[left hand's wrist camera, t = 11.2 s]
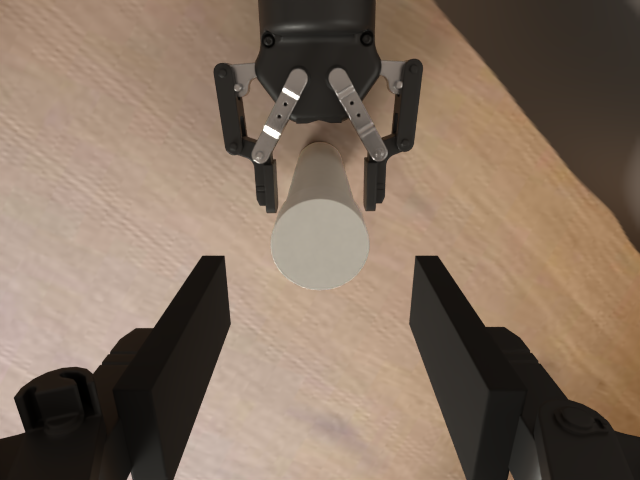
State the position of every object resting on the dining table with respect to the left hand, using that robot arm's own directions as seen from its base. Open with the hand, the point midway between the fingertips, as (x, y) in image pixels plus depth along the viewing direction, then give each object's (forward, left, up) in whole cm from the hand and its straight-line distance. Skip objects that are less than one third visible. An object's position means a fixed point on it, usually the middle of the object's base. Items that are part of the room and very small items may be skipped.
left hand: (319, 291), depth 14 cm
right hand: (-2, +1, -17) cm, 18 cm away
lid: (0, 0, -5) cm, 5 cm away
